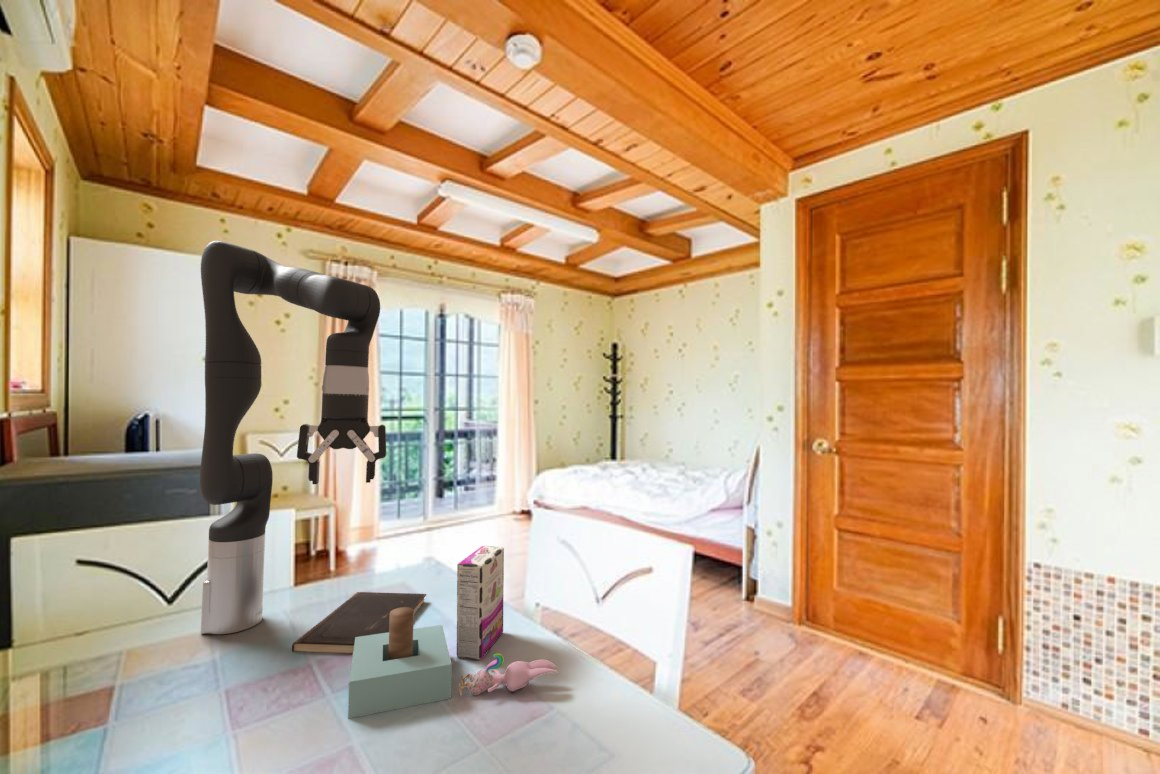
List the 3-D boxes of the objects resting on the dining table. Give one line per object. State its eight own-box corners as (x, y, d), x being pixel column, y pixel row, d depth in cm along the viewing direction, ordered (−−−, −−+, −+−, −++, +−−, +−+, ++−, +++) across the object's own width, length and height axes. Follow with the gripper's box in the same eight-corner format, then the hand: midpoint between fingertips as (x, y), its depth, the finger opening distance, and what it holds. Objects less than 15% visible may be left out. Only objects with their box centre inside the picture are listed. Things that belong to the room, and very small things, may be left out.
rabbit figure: (459, 713, 72) (560, 691, 74) (454, 672, 73) (554, 652, 74) (465, 688, 79) (557, 669, 80) (459, 651, 79) (552, 632, 80)
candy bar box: (479, 629, 96) (481, 544, 97) (503, 632, 95) (505, 546, 96) (453, 658, 85) (456, 562, 86) (480, 661, 84) (483, 565, 85)
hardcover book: (426, 604, 109) (426, 593, 109) (381, 657, 86) (381, 644, 86) (355, 602, 110) (355, 591, 110) (291, 654, 87) (291, 641, 87)
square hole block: (347, 718, 69) (349, 681, 69) (354, 667, 82) (355, 637, 82) (450, 698, 74) (451, 664, 74) (441, 653, 87) (442, 624, 87)
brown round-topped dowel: (387, 691, 75) (389, 618, 76) (387, 678, 79) (389, 608, 79) (412, 686, 77) (414, 614, 77) (411, 674, 80) (413, 605, 80)
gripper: (388, 393, 94) (385, 478, 94) (304, 390, 89) (300, 480, 89) (388, 393, 87) (384, 485, 87) (296, 390, 82) (292, 488, 82)
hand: (342, 482), depth 88 cm, fingers open, 8 cm apart
